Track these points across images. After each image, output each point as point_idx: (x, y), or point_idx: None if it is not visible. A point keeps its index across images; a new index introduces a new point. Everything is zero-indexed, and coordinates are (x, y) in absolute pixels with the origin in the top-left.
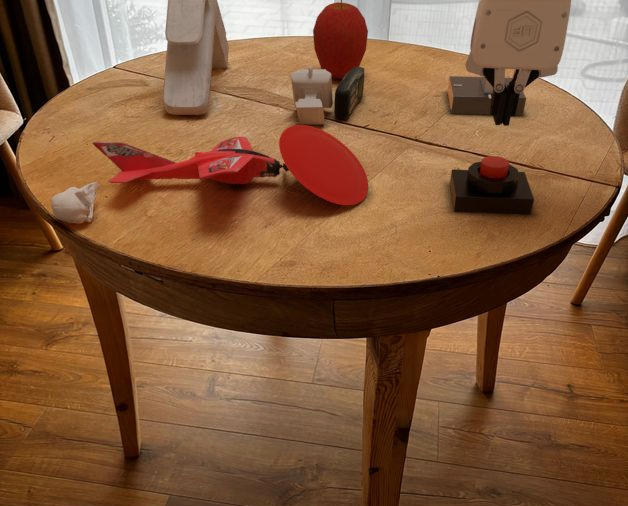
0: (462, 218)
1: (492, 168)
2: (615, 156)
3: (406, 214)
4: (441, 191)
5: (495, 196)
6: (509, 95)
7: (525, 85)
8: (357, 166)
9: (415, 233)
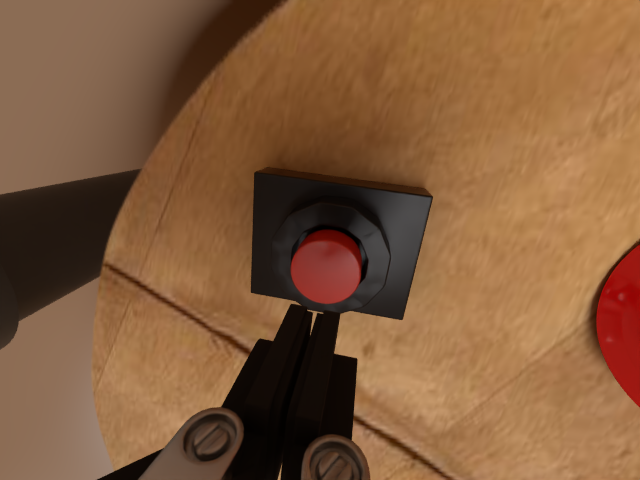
0: (415, 158)
1: (340, 242)
2: (92, 356)
3: (543, 182)
4: (426, 275)
5: (338, 189)
6: (276, 406)
7: (166, 446)
8: (630, 359)
9: (556, 88)
